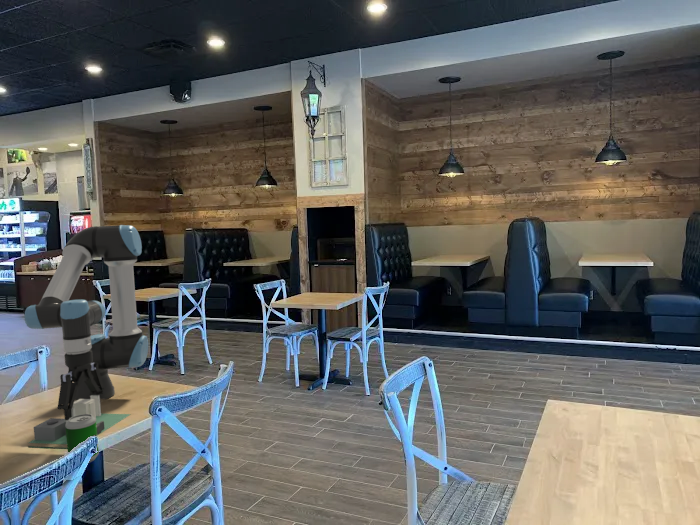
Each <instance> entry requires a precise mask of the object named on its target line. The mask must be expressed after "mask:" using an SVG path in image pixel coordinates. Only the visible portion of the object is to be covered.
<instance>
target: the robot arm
mask: <svg viewBox="0 0 700 525" xmlns="http://www.w3.org/2000/svg"><path fill="white" fill-rule="evenodd" d="M142 249H143V246H142V240H141V236H140V233H139V232H138V230H137V228H136V227H135V226H133V225H129V224H127V225H125V224H120V225H118V224H117V225H102V226H90V227H86V228H84V229H82V230H80V231H79V232H77V233H76V234H74V235H73V236H72V237H71V238H70V239H69V240H68V242H66V244H65V245H64V248H63V249H62V252H61V254H62V258H61V260H60V262H59V264H58V266H57V268H56V269H55V272H54V274H53V275H52V278H51V280H50V282H49V283H48V286H47V287H46V290H45V292H44V293H43V295H42V297H41V299H40V301H39V303H38V304H31V305H30V306H29V305H28V306H27V307H26V309H25V311H24V316H23V317H24V318H23V319H24V322H25V324H26V327H28V328H30V329H32V330H34V329H35V330H36V329H37V330H38V329H39V330H45V329H55V328H56V329H57V328H61V330H62V332H61V333H62V342H63V343H62V344H63V352H64V353H65V354H64V364H65V367H67V368H68V371H67V373H66V374H60V377H59V378H60V387H59V388H60V389H59V395H58V401H57V402H58V404H57V409H58V410H63V413H64V415H63V416H64V419H65V420H66V423H67V422H68V420H69V419H70V418H71V417H74V416H75V408H72V407H73V404H74V402H75V401H77V400H79V399H94V400H95V412H96V416H101V413H102V411H101V400H106V399H109V398H111V397H113V396H114V395H115V394H116V392H115V391H116V390H115V386H114V385H113V382H112V380H111V377H110V375H109V370H112V369H128V368H130V369H132V368H138V367H139V368H140V367H141V366H143V365H144V363H145V362H146V360H147V357H148V353H149V340H148V336H147V335H144V334H143V330H142V329H140V328H139V326H138V318H137V317H138V316H137V314H138V313H137V301H136V289H135V288H136V287H135V275H134V274H135V272H134V264H135V263H136V262H137V261H138V256H141V254H142V252H143V251H142ZM95 258H103V262H104V263H103V264H105V265H106V266H108V276H109V289H110V305H111V319H112V330H111V332H110V333H108V338H107V337H106V335H105V334H103V333H97V334H94V335H92V334H91V333H92V332H91V327H92V326H94V325H97V324H99V323H100V322H101V321H103V319H104V318H105V316H106V307H105V306H104V304H103V303H102V302H100V301H98V300H87V299H81V298H80V299H71V300H70V298H71V296H72V294H73V292H74V290H75V287H76V286H77V283H78V281H79V279H80V277H81V274H82V272H83V269H84V268H85V265H86V266H87V265H88V264H89V263H90V262H91V260H92V259H95Z"/></svg>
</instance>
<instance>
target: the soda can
mask: <svg viewBox="0 0 700 525" xmlns="http://www.w3.org/2000/svg"><path fill="white" fill-rule="evenodd" d="M65 427H66V438H67V444H66V446H67V447H66V448H67V449H66V450H67V453H68V452H70V451H71V450H72V449H73V448H74V447H76V446H77V445H78V444H79V443H81V442H83V441H85V440H86V439H87V438H88V437H90V436H97V437H98V435H97V425H96V418H95V417H93V416H92V415H91V414H81V415H77V416H74V417H71V418H70V419H69V420H68V422H67V423H66V424H65ZM97 451H98V452H97V453H95V454H94V455H93V456H92V457H91V459H90V461H89V463H92V462H93V461H95V460H96V458H97V457H98V456H99V454H100V452H99V443H98V444H97ZM89 463H88V464H89Z"/></svg>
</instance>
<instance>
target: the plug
mask: <svg viewBox="0 0 700 525" xmlns="http://www.w3.org/2000/svg"><path fill="white" fill-rule="evenodd" d="M72 408H75V416H77V415H81V414H91V415H92V416H93V417H95V418H96V412H95V400H94V399H79V400H74V404H73V407H72Z"/></svg>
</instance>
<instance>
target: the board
mask: <svg viewBox="0 0 700 525" xmlns="http://www.w3.org/2000/svg"><path fill="white" fill-rule="evenodd" d="M131 415H132V414H130V413H102V412H101V416H96V425H97V436H99V435H101V434H102V433H105V431H107V430H109V429H110V428H112V427H113V426H115V425H116V424H118V423H120V422H122V421H123V420H124V419H126V418H128V417H129V416H131ZM65 424H66V420H65V418H61V417H60V418H56V417H55V418H54V417H53V418H52V417H51V418H48V419H47V420H44V421H43V422H41V423H39V424H36V425H35V426H33V437H34V439H32V440H31V441H29V442H28V444H46V445H67V438H66V427H65ZM28 448H29V449H52V450H68V449H67V447H63V446H61V447H60V446H34V445H33V446H32V445H28Z"/></svg>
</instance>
